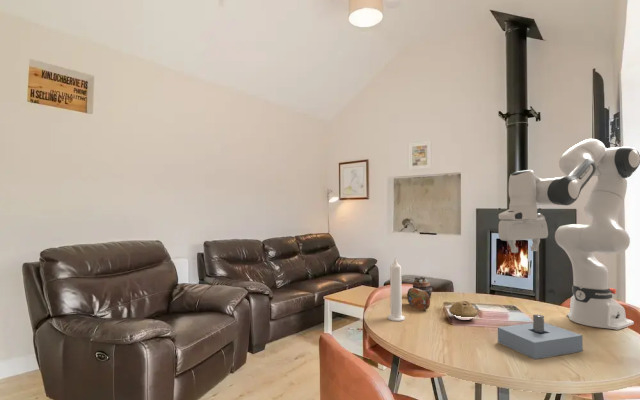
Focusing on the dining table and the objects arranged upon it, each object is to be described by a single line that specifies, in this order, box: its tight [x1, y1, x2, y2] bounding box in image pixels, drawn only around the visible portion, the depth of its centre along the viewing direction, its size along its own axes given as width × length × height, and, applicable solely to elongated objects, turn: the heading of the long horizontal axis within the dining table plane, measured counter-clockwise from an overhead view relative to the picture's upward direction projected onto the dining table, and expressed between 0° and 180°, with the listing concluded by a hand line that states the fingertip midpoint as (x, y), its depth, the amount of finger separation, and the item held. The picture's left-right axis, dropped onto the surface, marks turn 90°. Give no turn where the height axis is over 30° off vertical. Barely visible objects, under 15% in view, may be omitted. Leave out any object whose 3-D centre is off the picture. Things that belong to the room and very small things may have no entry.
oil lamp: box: [448, 300, 479, 318], centre depth 143 cm, size 11×15×8 cm
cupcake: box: [412, 277, 433, 299], centre depth 177 cm, size 10×10×10 cm
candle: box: [387, 257, 406, 322], centre depth 142 cm, size 7×7×25 cm
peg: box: [532, 314, 545, 334], centre depth 113 cm, size 3×3×10 cm
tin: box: [406, 287, 431, 311], centre depth 158 cm, size 15×3×8 cm, turn 17°
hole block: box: [497, 321, 584, 360], centre depth 113 cm, size 20×14×5 cm
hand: (524, 251), depth 126 cm, fingers open, 8 cm apart
